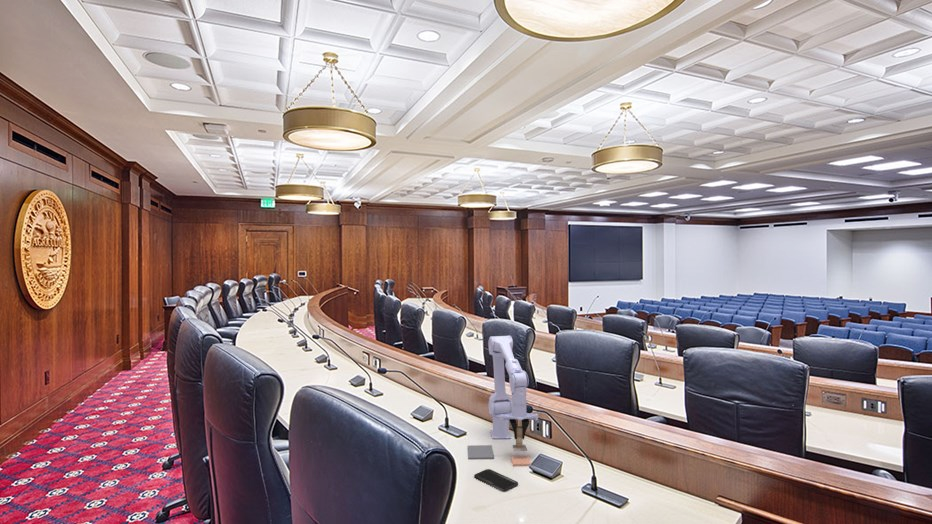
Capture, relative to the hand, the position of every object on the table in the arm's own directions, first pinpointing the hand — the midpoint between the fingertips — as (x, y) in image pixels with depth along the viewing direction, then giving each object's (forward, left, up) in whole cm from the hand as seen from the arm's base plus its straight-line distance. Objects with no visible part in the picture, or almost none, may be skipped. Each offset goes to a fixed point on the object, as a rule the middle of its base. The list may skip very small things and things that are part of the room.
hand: (519, 438), depth 175 cm
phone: (+19, -11, -8) cm, 23 cm away
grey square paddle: (+1, 0, -4) cm, 4 cm away
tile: (+1, 0, -7) cm, 7 cm away
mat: (-5, -15, -7) cm, 17 cm away
